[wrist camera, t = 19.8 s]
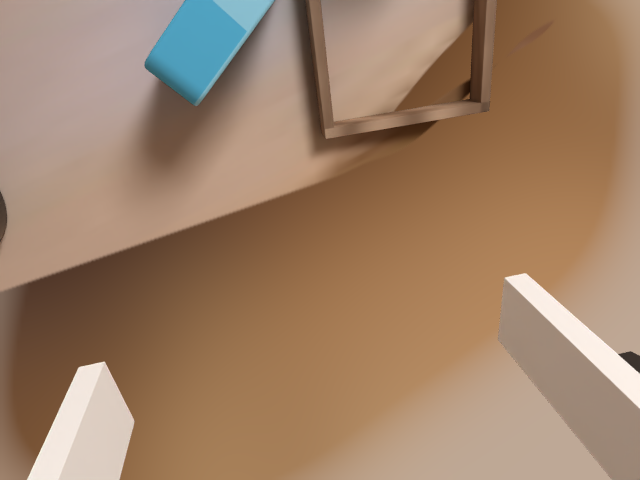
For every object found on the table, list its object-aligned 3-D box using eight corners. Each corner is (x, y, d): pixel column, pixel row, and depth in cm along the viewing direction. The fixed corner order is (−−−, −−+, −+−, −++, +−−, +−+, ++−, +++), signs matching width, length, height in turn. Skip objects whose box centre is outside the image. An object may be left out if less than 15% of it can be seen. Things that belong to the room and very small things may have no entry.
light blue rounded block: (241, -57, 37) (242, -88, 26) (281, -17, 39) (297, -31, 28) (164, 56, 40) (138, 68, 29) (205, 88, 42) (194, 111, 31)
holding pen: (321, 133, 46) (325, 139, 44) (300, -42, 38) (303, -46, 36) (477, 106, 47) (489, 111, 45) (487, -66, 40) (501, -71, 38)
